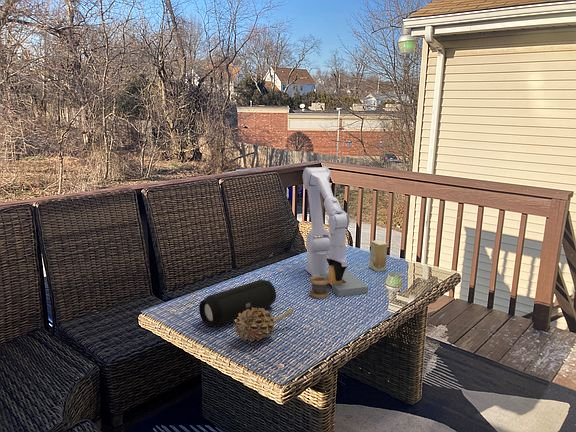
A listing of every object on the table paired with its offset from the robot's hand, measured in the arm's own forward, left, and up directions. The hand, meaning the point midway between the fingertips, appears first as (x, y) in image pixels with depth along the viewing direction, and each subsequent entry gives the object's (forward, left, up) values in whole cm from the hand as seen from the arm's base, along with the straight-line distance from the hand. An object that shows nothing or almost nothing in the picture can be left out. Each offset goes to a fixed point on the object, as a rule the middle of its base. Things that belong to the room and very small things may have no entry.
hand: (336, 278), depth 176 cm
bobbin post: (+5, -9, -3) cm, 11 cm away
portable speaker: (+14, -41, -4) cm, 43 cm away
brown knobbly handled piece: (+29, -36, -4) cm, 46 cm away
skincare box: (-13, +25, -4) cm, 28 cm away
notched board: (0, +3, -3) cm, 5 cm away
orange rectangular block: (0, 0, -2) cm, 2 cm away
